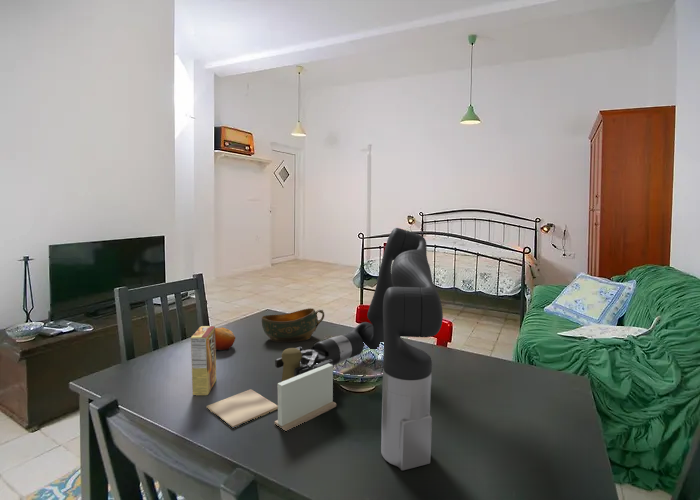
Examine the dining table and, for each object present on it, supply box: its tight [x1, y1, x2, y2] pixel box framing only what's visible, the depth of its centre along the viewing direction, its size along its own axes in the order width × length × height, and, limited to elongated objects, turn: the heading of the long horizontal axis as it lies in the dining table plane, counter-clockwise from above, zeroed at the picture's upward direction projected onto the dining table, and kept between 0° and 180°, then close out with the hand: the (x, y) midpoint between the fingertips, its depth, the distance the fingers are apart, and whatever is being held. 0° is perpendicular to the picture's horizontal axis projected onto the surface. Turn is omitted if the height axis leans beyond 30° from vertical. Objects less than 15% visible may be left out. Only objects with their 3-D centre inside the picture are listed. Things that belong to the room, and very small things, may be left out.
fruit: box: [215, 327, 236, 351], centre depth 132 cm, size 8×8×8 cm
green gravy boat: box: [261, 307, 325, 343], centre depth 142 cm, size 13×20×10 cm, turn 74°
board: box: [206, 388, 278, 428], centre depth 95 cm, size 12×12×1 cm
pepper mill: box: [280, 347, 302, 382], centre depth 103 cm, size 6×6×11 cm
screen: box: [274, 363, 337, 432], centre depth 92 cm, size 15×4×10 cm, turn 136°
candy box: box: [190, 325, 217, 396], centre depth 104 cm, size 9×4×15 cm, turn 6°
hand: (285, 368), depth 102 cm, fingers open, 7 cm apart
